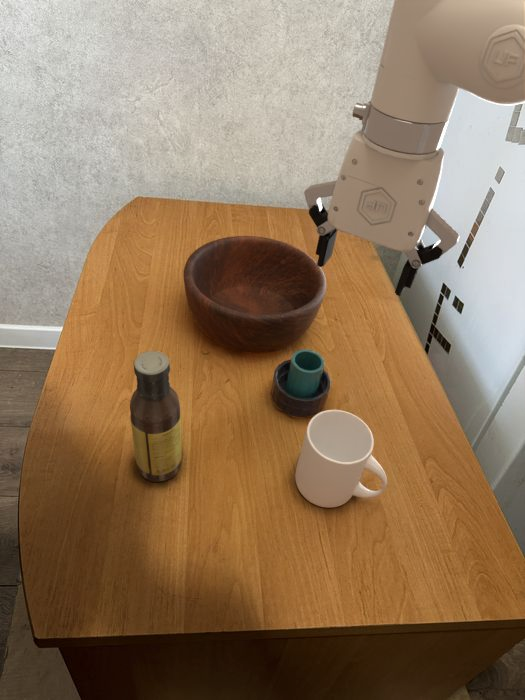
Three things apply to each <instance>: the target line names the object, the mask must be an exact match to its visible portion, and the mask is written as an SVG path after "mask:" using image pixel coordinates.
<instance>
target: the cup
mask: <svg viewBox="0 0 525 700" xmlns="http://www.w3.org/2000/svg"><path fill="white" fill-rule="evenodd" d="M290 359H291V362H290V367H289V372H288V377H287V381H286V386H285V392H287V393H288V394H290V395H293V396H295V397H299V398H314V397H316V395H317V391H318V387H319V383H320V380H321V376H322V372H323V369H325V360H324V358H323V356H322V355H321V354H320V353H318V352H317V351H314V350H312V349H307V348H306V349H299V350H296V351H294V353H293V354H292V355H291V358H290Z"/></svg>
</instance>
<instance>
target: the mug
mask: <svg viewBox="0 0 525 700" xmlns="http://www.w3.org/2000/svg"><path fill="white" fill-rule="evenodd" d="M374 446H375V439H374V436H373V433H372V431H371V428H370V427H369V426H368V424H367V423H366V422H365V421H364V420H363V419H361V418H360V417H359V416H357V415H355V414H353V413H351V412H348V411H345V410H341V409H327V410H324V411H323V410H322V411H320V412H319V413H317V414H315V415H313V416H312V418H311V419H310V420H309V422H308V424H307V427H306V430H305V434H304V437H303V442H302V446H301V449H300V452H299V457H298V461H297V464H296V467H295V472H294V474H295V475H294V479H295V483H296V487H297V490H298V491H299V493H300V494H301V495H302V496H303V497H304V498H305V500H307V501H308V502H309V503H311V504H313V505H315V506H317V507H321V508H337V507H340V506H342V505H345V504H346V503H347V502H348V501H350V500H351V498H352V497H353V496H354V497H357V498H361V499H374V498H377V497H379V496H381V495H382V494H383V493H384V491H386V489H387V486H388V478H387V473H386V472H385V470H384V468H383V467H382V465H381V464H380V463H379V462H378V460H377V459H376V458H375V457H374V456H373V455H372V452H373V450H374ZM365 470H367V471H369V472H371V473H372V474H374V475H375V476H376V477H378V478H379V480H380V481H381V483H382V487H381V488H380V489H379V490H371V489H369V488H367V487H365V486H364V485H363V484H362V483H361V478H362V476H363V474H364V471H365Z"/></svg>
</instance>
